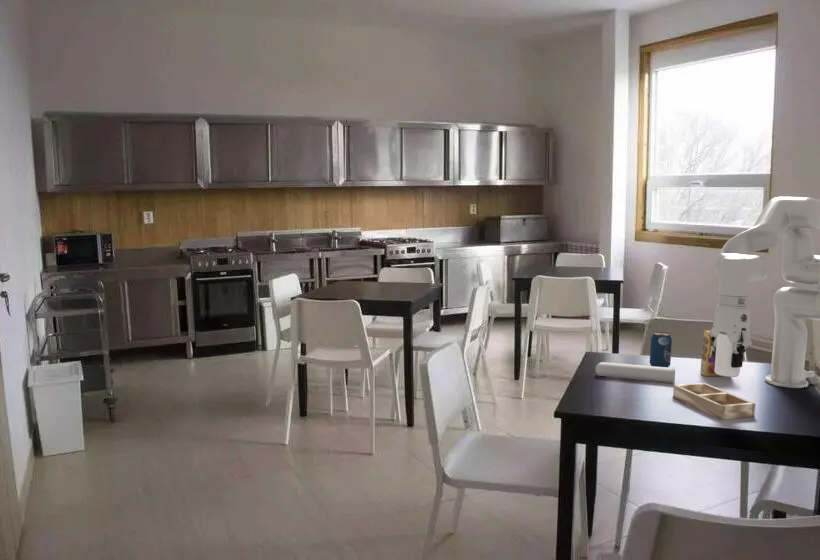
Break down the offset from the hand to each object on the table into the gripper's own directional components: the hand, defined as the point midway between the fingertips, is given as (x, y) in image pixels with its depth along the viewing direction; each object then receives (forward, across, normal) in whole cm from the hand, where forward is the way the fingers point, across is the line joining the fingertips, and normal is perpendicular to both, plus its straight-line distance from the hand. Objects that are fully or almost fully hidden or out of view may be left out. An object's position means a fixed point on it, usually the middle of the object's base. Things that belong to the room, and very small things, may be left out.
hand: (727, 363), depth 199 cm
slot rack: (+14, +5, 0) cm, 15 cm away
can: (+3, 0, 0) cm, 3 cm away
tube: (+15, +36, +5) cm, 40 cm away
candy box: (+14, +34, -25) cm, 45 cm away
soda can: (+14, +48, -13) cm, 52 cm away
